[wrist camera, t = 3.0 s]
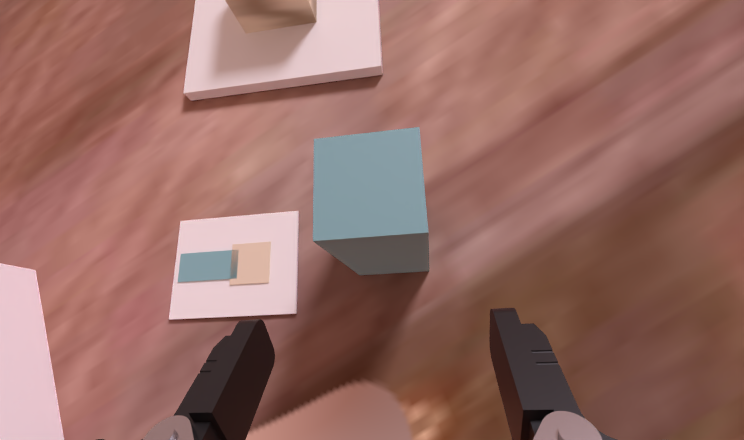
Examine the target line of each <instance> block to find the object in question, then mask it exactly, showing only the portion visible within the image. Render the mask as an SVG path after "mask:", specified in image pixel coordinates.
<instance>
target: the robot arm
mask: <svg viewBox="0 0 744 440" xmlns="http://www.w3.org/2000/svg"><path fill="white" fill-rule="evenodd" d="M490 352H491V358H492V362H493V366H494V370H495V374H496V378H497V382H498V386H499V390H500V393H501V397H502V401H503V405H504V409H505V413H506V417H507V421H508V425H509V428H510V432H511V436H512V440H616V439H613V438H611V437H609V436H607V435H605V434H603V433H601V432H600V431H598V430H597V429H596V428H595V427H594V426H593V425H592V424H591V423H590V422H589V421H587V420H586V419H585V418H584V416H583V415H582V414H581V412H580V410H579V408H578V406H577V403H576V401H575V399H574V397H573V395H572V392H571V390H570V388H569V386H568V383H567V381H566V379H565V377H564V375H563V372H562V370H561V368H560V366H559V365H558V361H557V359H556V357H555V355H554V353H553V352H552V348H551V346H550V343H549V341H548V339H547V337H546V335H545V334H544V333H543V332H542V331H541V330H540V329H539V328H538V327H537V326H536V325H535V324H534V323H533V324H521V323H520V320H519V317H518V315H517V312H516V310H515V309H514V308H502V309H491V310H490ZM274 360H275V353H274V348H273V345H272V342H271V340H270V337H269V334H268V332H267V329H266V326H265V324H264V322H263V321H262V320H241V321H239V322H238V324H237V325H236V327H235V329H234V331H233V333H232V334H231V336H225V337H224V338H223V339H222V340H221V341H220V342H219V343H218V344H217V345H216V346H215V347H214V348H213V350H212V351H211V353H210V355H209V357H208V358H207V360H206V363H204V365H203V367H202V369H201V370H200V374H198V375H197V377H196V379H195V380H194V382H193V384H192V386H191V387H190V389H189V391H188V392H187V394H186V396H185V398H184V399H183V401H182V403H181V404H180V406H179V408H178V410H177V411H176V413H175V414H174V416H172V417H169V418H166V419H164V420H163V421H161V422H159V423H158V424H157V425H155V426H154V427H153V428H152V429H151V430H150V431H149V432H148V433H147V435H146V436H145V437H144V439H142V440H245V439H246V437H247V434H248V431H249V429H250V426H251V424H252V421H253V418H254V416H255V413H256V410H257V408H258V405H259V403H260V400H261V397H262V395H263V392H264V389H265V387H266V384H267V382H268V379H269V376H270V374H271V371H272V368H273V365H274ZM98 440H103V439H98Z"/></svg>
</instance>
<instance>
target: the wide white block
mask: <svg viewBox="0 0 744 440" xmlns="http://www.w3.org/2000/svg"><path fill="white" fill-rule="evenodd" d="M0 440H64V436H63V430H62V424H61V418H60V413H59V407H58V401H57V395H56V389H55V383H54V377H53V371H52V365H51V359H50V353H49V347H48V341H47V335H46V329H45V323H44V317H43V312H42V306H41V300H40V294H39V288H38V282H37V276H36V270H32V269H27V268H22V267H17V266H12V265H6V264H1V263H0Z"/></svg>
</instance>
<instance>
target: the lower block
mask: <svg viewBox="0 0 744 440" xmlns="http://www.w3.org/2000/svg"><path fill="white" fill-rule="evenodd" d="M225 1H226V3H227V4H228V6H229V7H230V9H231V10H232V12H233V14H234V15H235V17H236V18H237V20H238V22H239V23H240V25H241V26H242V28H243V30H244V31H245V33H252V32H259V31H265V30H271V29H278V28H284V27H290V26H296V25H303V24H309V23H315V22H317V0H225Z"/></svg>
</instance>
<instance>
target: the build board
mask: <svg viewBox="0 0 744 440" xmlns="http://www.w3.org/2000/svg"><path fill="white" fill-rule="evenodd" d="M377 75H383V66H382V48H381V30H380V12H379V0H317V22H315V23H309V24H303V25H296V26H290V27H284V28H278V29H271V30H265V31H259V32H252V33H245V31H244V30H243V28H242V26H241V25H240V23H239V22H238V20H237V18H236V17H235V15H234V14H233V12H232V10H231V9H230V7H229V6H228V4H227V3H226V1H225V0H196V1H195V9H194V16H193V24H192V32H191V39H190V47H189V55H188V62H187V70H186V77H185V85H184V94H185V95H186V96H187V97H188V98H189V99H190V100H191V101H193V100H200V99H207V98H215V97H222V96H230V95H237V94H244V93H252V92H259V91H266V90H274V89H281V88H289V87H296V86H303V85H311V84H318V83H325V82H333V81H340V80H348V79H355V78H362V77H370V76H377Z"/></svg>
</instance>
